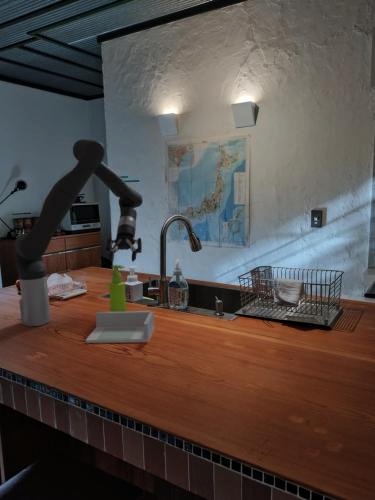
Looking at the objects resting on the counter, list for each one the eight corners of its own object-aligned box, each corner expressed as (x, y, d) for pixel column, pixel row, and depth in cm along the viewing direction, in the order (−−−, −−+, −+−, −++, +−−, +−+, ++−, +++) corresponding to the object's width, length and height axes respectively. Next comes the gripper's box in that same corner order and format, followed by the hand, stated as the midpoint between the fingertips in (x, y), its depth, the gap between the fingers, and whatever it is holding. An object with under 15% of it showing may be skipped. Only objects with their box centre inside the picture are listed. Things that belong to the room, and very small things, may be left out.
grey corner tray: (85, 342, 122) (84, 324, 122) (97, 328, 135) (96, 312, 134) (148, 342, 121) (147, 323, 120) (154, 327, 134) (153, 311, 133)
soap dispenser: (120, 320, 143) (117, 267, 140) (107, 317, 147) (104, 265, 144) (131, 316, 147) (128, 264, 145) (119, 313, 152) (116, 263, 149)
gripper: (107, 224, 161) (102, 255, 151) (141, 222, 160) (138, 254, 150) (111, 235, 167) (106, 266, 157) (144, 234, 166) (141, 265, 156)
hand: (122, 260), depth 154 cm, fingers open, 8 cm apart
